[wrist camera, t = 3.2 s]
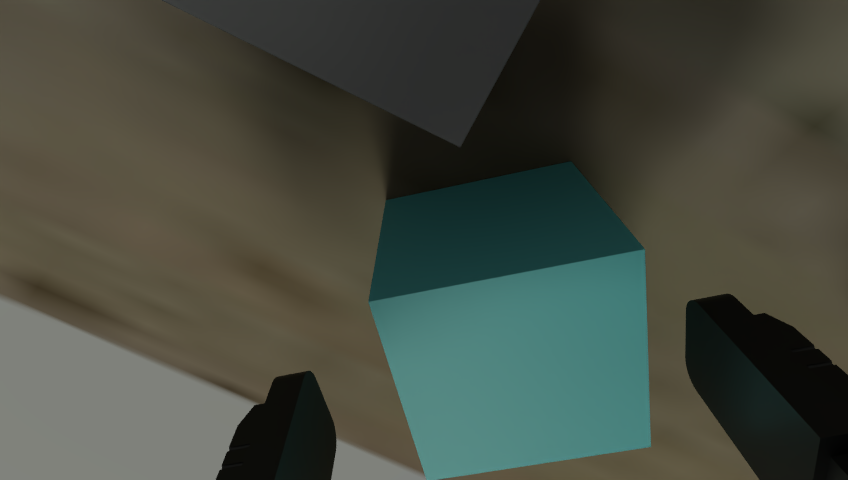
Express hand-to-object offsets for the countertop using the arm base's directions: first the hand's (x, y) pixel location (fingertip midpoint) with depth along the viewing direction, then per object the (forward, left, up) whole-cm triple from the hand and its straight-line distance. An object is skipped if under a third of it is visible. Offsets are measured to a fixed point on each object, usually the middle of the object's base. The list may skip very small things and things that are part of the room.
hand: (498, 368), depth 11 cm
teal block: (0, 0, -4) cm, 4 cm away
